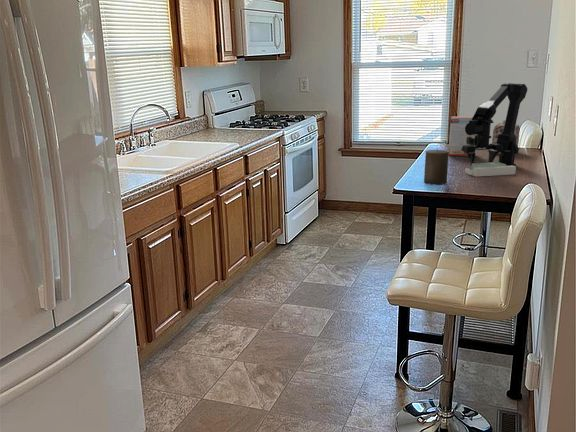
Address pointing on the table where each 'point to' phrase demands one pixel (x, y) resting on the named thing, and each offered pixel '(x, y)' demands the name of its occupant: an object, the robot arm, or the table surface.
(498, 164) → the bar
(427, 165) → the pillar candle
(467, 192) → the table surface
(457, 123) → the cracker box
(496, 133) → the decorative jar
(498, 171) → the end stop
